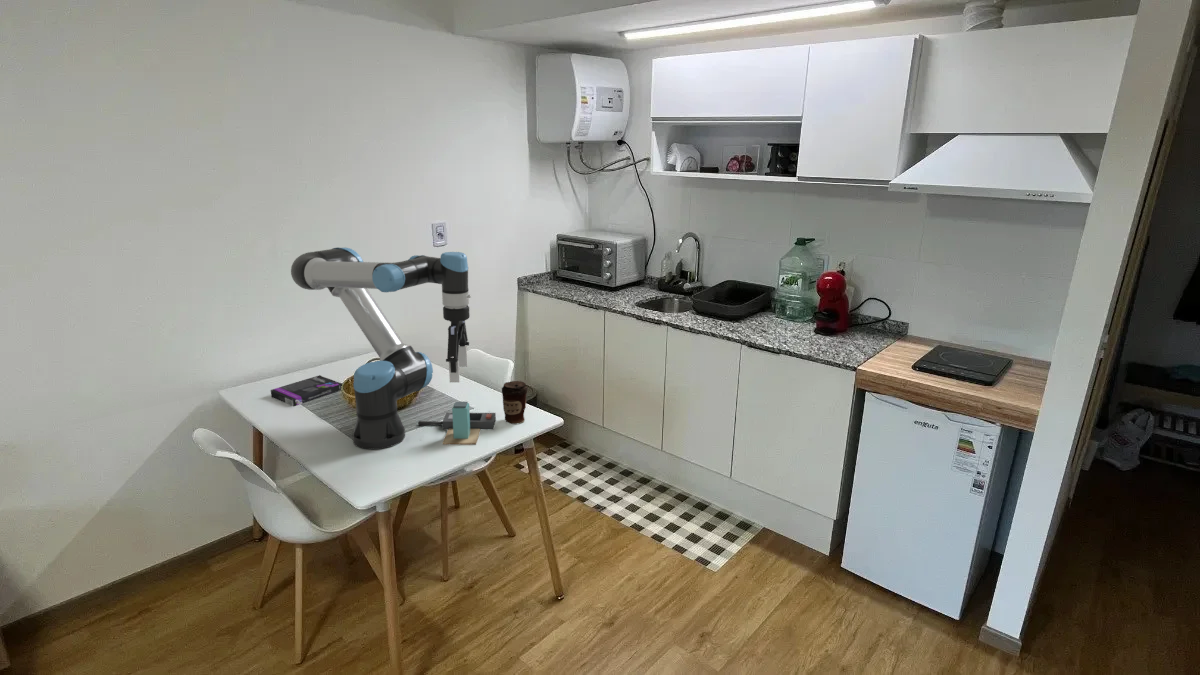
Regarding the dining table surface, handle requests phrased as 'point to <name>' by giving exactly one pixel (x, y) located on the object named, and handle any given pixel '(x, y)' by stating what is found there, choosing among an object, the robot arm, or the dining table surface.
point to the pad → (470, 441)
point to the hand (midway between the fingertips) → (458, 374)
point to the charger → (461, 420)
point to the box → (306, 390)
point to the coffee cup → (514, 401)
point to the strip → (476, 421)
